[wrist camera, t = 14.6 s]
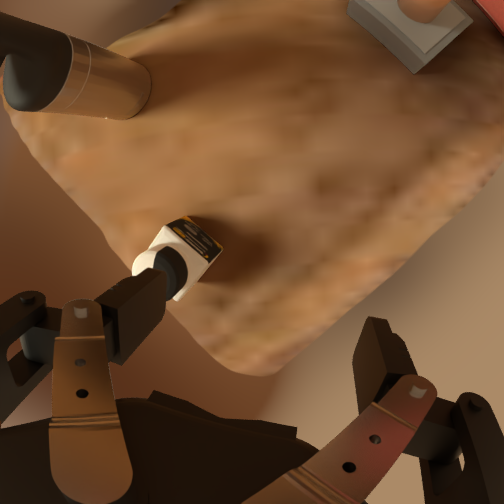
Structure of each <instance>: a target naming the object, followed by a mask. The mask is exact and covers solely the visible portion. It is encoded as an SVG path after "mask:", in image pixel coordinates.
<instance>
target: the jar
mask: <svg viewBox="0 0 504 504" xmlns="http://www.w3.org/2000/svg"><path fill="white" fill-rule="evenodd" d="M450 1H451V0H397V3H398V6H399V8H400V10H401V11H402V12H403V13H404V14H405V15H406V16H407V17H408V18H410V19H411V20H413V21H416V22H419V23H429V22H432V21H433V20H434V19H435V18H436V17H437V15H438V14H439V13H440V12H441V11H442V10H443V9H444V8H445V7H446V5H447V4H448V3H449V2H450Z"/></svg>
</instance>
